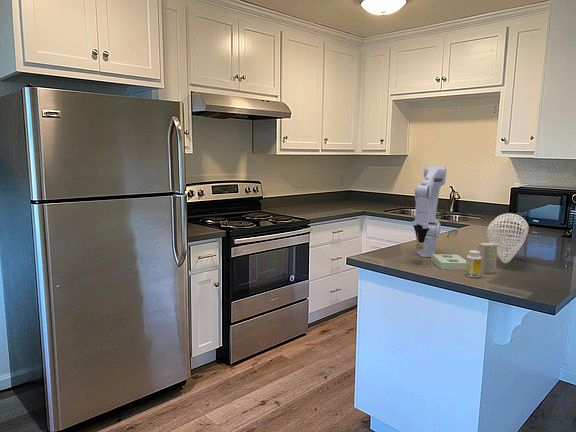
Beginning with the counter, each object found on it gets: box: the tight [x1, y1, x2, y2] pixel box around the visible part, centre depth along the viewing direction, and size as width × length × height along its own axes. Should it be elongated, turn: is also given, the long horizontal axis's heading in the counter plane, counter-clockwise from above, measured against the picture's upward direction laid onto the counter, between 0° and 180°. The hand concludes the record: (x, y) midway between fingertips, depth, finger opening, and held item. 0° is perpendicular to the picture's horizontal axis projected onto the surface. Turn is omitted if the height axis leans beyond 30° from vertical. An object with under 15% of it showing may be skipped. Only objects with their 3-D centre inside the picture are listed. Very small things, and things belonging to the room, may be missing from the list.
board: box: [430, 253, 467, 271], centre depth 192 cm, size 16×12×3 cm
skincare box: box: [477, 242, 498, 274], centre depth 181 cm, size 6×4×12 cm
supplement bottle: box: [465, 249, 482, 278], centre depth 174 cm, size 6×6×10 cm
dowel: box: [415, 233, 424, 250], centre depth 193 cm, size 3×3×9 cm
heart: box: [486, 212, 530, 264], centre depth 195 cm, size 28×16×22 cm, turn 148°
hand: (420, 241), depth 194 cm, fingers closed on dowel, 3 cm apart
